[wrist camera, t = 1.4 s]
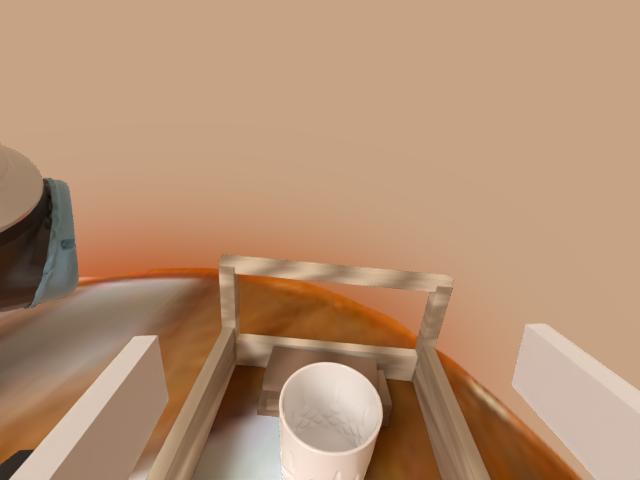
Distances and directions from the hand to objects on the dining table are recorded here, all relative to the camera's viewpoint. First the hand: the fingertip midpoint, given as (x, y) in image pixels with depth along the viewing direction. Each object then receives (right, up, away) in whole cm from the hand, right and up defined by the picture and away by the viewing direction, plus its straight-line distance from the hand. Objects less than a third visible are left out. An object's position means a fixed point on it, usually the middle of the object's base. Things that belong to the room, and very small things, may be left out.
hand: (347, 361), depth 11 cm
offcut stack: (-1, -14, +24) cm, 28 cm away
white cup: (-1, -17, +16) cm, 24 cm away
